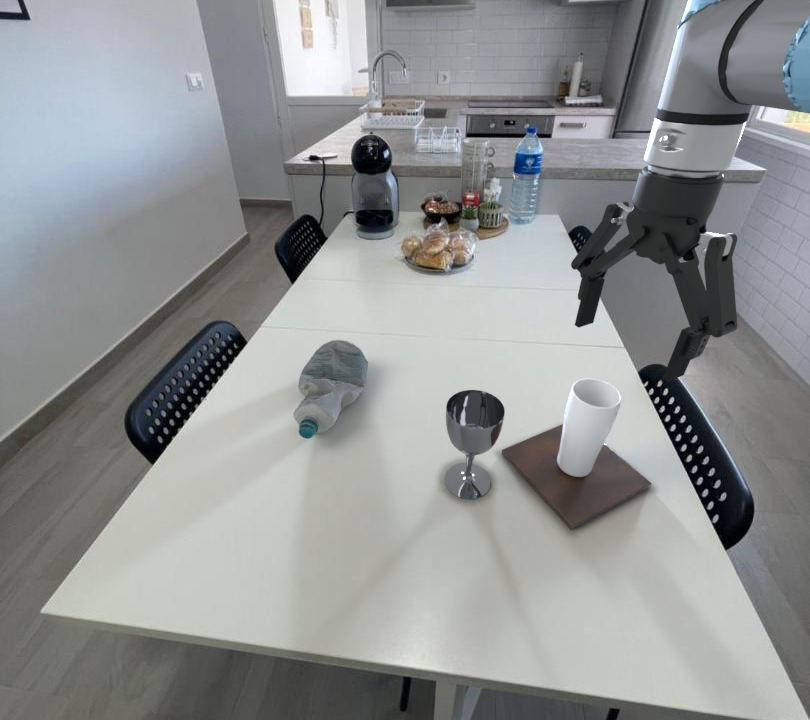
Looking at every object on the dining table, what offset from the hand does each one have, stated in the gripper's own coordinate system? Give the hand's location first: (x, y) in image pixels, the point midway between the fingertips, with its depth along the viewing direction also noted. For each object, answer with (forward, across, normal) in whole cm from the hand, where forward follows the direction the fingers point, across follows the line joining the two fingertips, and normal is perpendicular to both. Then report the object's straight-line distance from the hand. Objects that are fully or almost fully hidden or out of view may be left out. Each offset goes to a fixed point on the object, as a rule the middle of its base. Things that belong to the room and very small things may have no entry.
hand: (624, 348), depth 56 cm
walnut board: (+24, -2, 0) cm, 24 cm away
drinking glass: (+23, -2, 0) cm, 23 cm away
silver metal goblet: (+24, -8, -16) cm, 30 cm away
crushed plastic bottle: (+24, -36, -29) cm, 52 cm away
